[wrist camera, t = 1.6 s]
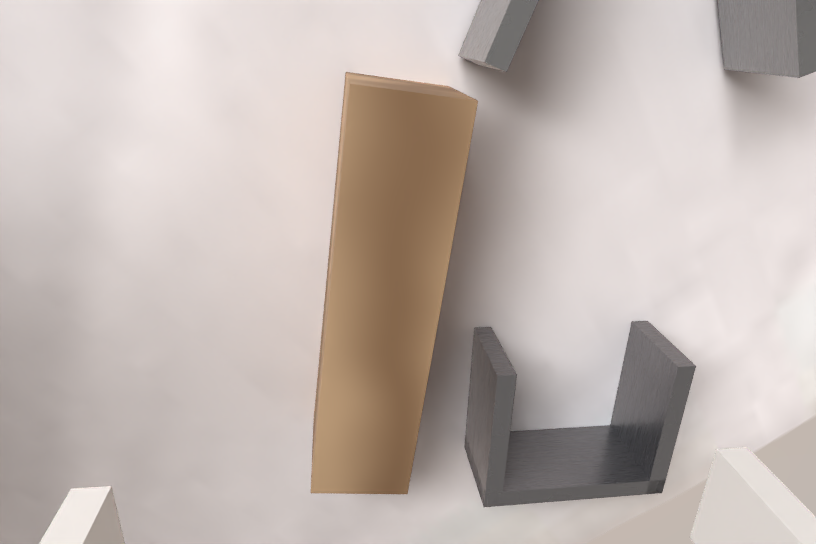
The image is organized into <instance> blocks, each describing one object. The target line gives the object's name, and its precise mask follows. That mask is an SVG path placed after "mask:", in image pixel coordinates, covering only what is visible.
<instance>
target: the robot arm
mask: <svg viewBox="0 0 816 544" xmlns="http://www.w3.org/2000/svg"><path fill="white" fill-rule="evenodd" d="M690 539H691V540H692V542H693V543H694V544H816V517H815V516H814V515H813V514H812V513H811V512H810V511H809V510H808V509H807V508H806V507H805V505H804V504H802V502H801V501H800V500H799V499H798V498H797V497H796V496H795V495H794V494H793V493H792V492H791V491H790V490H789V489H788V488H787V487H786V486H785V485H784V484H783V483H782V482H781V481H780V480H779V479H778V478H777V477H776V476H775V475H774V474H773V473H772V472H771V471H770V470H769V469H768V468H767V467H766V466H765V465H764V464H763V463H762V462H761V461H760V460H759V459H758V457H756V455H755V454H754V453H753V452H752V451H751V450H750V449H749V448H748V447H742V448H725V449H716V452H715V455H714V459H713V462H712V465H711V469H710V472H709V475H708V479H707V482H706V486H705V489H704V492H703V496H702V499H701V502H700V505H699V509H698V512H697V515H696V518H695V522H694V525H693V529H692V532H691V535H690ZM39 544H125V542H124V538H123V534H122V529H121V525H120V521H119V517H118V512H117V508H116V504H115V500H114V495H113V491H112V487H111V486H104V487H87V488H71V490H70V491H69V493H68V495H67V496H66V498H65V500H64V502H63V503H62V505H61V507H60V508H59V510H58V512H57V514H56V515H55V517H54V519H53V521H52V522H51V524H50V526H49V527H48V529H47V531H46V533H45V534H44V536H43V538H42V540H41V541H40V543H39Z"/></svg>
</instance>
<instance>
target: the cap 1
mask: <svg viewBox="0 0 816 544" xmlns="http://www.w3.org/2000/svg"><path fill="white" fill-rule="evenodd" d="M538 1H539V0H481V2H480V4H479V6H478V9H477V11H476V14H475V16H474V19H473V21H472V23H471V26H470V28H469V31H468V33H467V35H466V38H465V40H464V43H463V45H462V48H461V50H460V52H459V55H458V56H459V57H462V58H464V59H466V60H468V61H471V62H473V63H475V64H477V65H481V66H485V67H489V68H493V69H497V70H501V71H504V72H507V70H508V68H509V66H510V63H511V61H512V59H513V57H514V54H515V52H516V50H517V48H518V45H519V43H520V41H521V39H522V37H523V34H524V32H525V30H526V28H527V25H528V23H529V21H530V19H531V16H532V14H533V12H534V10H535V7H536V5H537V3H538ZM717 1H718V11H719V21H720V31H721V41H722V51H723V61H724V70H733V71H743V72H752V73H761V74H770V75H779V76H788V77H797V78H800V77H802V76H805V75H808V74H810V73H813V72H815V71H816V0H717Z"/></svg>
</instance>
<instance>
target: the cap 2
mask: <svg viewBox="0 0 816 544" xmlns="http://www.w3.org/2000/svg"><path fill="white" fill-rule="evenodd" d="M695 368H696V366H695V365H694V364H693V363H692V362H691V361H690V360H689V359H688V358H687V357H686V356H685V355H684V354H682V353H681V352H680V351H679V350H678V349H677V348H676V347H675V346H674V345H673V344H672V343H671V342H670V341H668V340H667V339H666V338H665V337H664V336H663V335H662V334H661V333H660V332H659V331H658V330H657V329H656V328H654V327H653V326H652V325H651V324H650V323H649V322H648V321H635V322H632V324H631V329H630V333H629V338H628V343H627V348H626V353H625V358H624V362H623V367H622V372H621V377H620V382H619V387H618V391H617V396H616V401H615V406H614V411H613V416H612V421H611V425H610V426H594V427H579V428H563V429H547V430H531V431H515V432H510V427H511V419H512V411H513V402H514V394H515V386H516V378H517V374H516V373H515V371H514V369H513V367H512V365H511V363H510V361H509V359H508V358H507V356H506V354H505V352H504V350H503V348H502V346H501V345H500V343H499V341H498V339H497V337H496V335H495V333H494V331H493V330H492V328H491V327H481V328H474V340H473V352H472V364H471V376H470V388H469V400H468V412H467V424H466V437H465V450H466V453H467V456H468V459H469V462H470V465H471V469H472V472H473V475H474V478H475V481H476V484H477V487H478V491H479V494H480V497H481V500H482V503H483V506H484V507H491V506H504V505H517V504H529V503H542V502H554V501H567V500H579V499H592V498H604V497H617V496H629V495H642V494H655V493H662V491H663V488H664V484H665V480H666V476H667V473H668V469H669V465H670V461H671V458H672V454H673V450H674V446H675V443H676V439H677V435H678V431H679V428H680V424H681V420H682V416H683V413H684V409H685V405H686V401H687V398H688V394H689V390H690V386H691V383H692V379H693V375H694V371H695Z"/></svg>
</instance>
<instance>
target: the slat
mask: <svg viewBox="0 0 816 544" xmlns="http://www.w3.org/2000/svg"><path fill="white" fill-rule="evenodd" d="M477 104H478V101H477V100H475V99H473V98H471V97H469V96H467V95H465V94H463V93H461V92H459V91H457V90H455V89H453V88H451V87H449V86H443V85H436V84H429V83H421V82H414V81H407V80H400V79H393V78H385V77H378V76H371V75H364V74H356V73H349V72H346V75H345V86H344V97H343V107H342V118H341V129H340V140H339V151H338V162H337V173H336V183H335V194H334V205H333V216H332V227H331V238H330V248H329V259H328V270H327V281H326V292H325V303H324V313H323V324H322V335H321V346H320V357H319V368H318V378H317V389H316V400H315V411H314V425H313V450H312V474H311V493H346V494H407V493H408V488H409V482H410V476H411V471H412V465H413V460H414V454H415V449H416V443H417V438H418V432H419V426H420V421H421V415H422V410H423V404H424V399H425V393H426V387H427V382H428V376H429V371H430V365H431V360H432V354H433V349H434V343H435V337H436V332H437V326H438V321H439V315H440V310H441V304H442V299H443V293H444V287H445V282H446V276H447V271H448V265H449V260H450V254H451V248H452V243H453V237H454V232H455V226H456V221H457V215H458V210H459V204H460V198H461V193H462V187H463V182H464V176H465V171H466V165H467V160H468V154H469V148H470V143H471V137H472V132H473V126H474V121H475V115H476V110H477Z"/></svg>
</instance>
